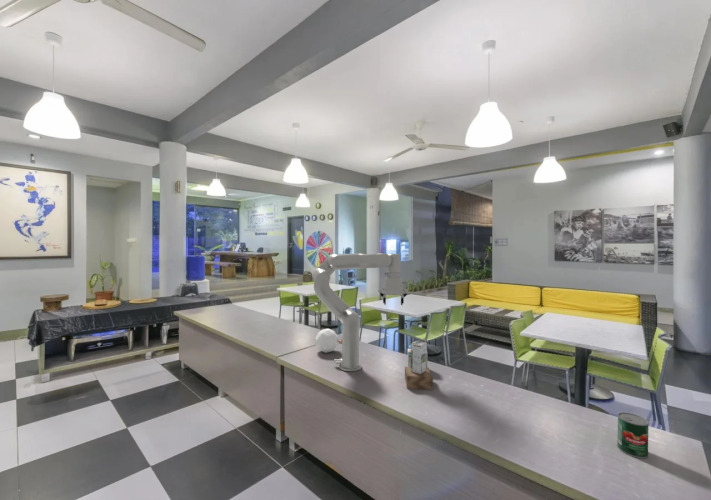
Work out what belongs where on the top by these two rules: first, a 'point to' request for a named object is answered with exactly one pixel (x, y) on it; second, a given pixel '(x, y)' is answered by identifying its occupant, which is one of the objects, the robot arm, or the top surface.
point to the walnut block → (418, 379)
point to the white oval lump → (327, 340)
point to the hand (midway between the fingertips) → (393, 304)
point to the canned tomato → (633, 435)
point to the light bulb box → (410, 358)
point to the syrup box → (418, 357)
